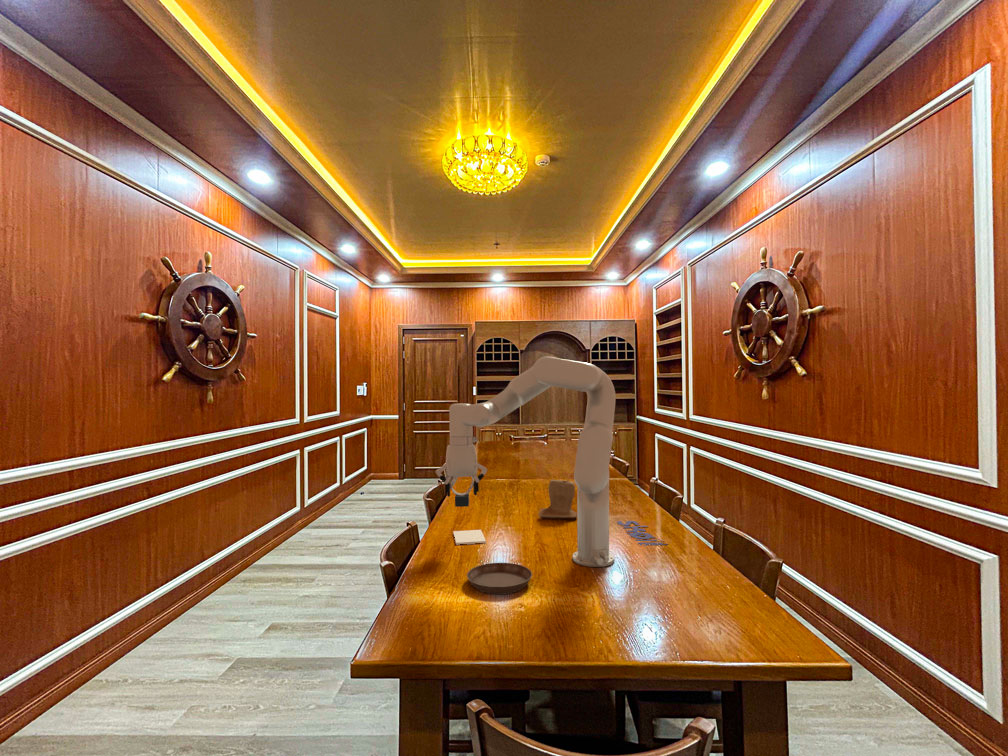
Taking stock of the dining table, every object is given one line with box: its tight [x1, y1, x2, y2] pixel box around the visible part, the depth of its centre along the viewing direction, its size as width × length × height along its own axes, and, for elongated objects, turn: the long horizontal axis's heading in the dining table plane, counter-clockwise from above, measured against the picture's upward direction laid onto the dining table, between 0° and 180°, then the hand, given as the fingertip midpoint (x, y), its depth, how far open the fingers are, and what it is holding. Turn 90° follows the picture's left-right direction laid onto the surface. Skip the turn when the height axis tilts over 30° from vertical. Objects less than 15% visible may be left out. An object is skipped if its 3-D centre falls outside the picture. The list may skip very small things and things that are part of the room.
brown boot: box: [538, 479, 577, 519], centre depth 203 cm, size 15×12×15 cm
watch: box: [449, 476, 474, 508], centre depth 165 cm, size 6×8×11 cm
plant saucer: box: [466, 562, 533, 595], centre depth 137 cm, size 18×18×3 cm
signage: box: [616, 520, 669, 546], centre depth 182 cm, size 28×1×10 cm
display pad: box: [452, 529, 487, 546], centre depth 176 cm, size 13×10×1 cm
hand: (461, 494), depth 165 cm, fingers closed on watch, 8 cm apart
